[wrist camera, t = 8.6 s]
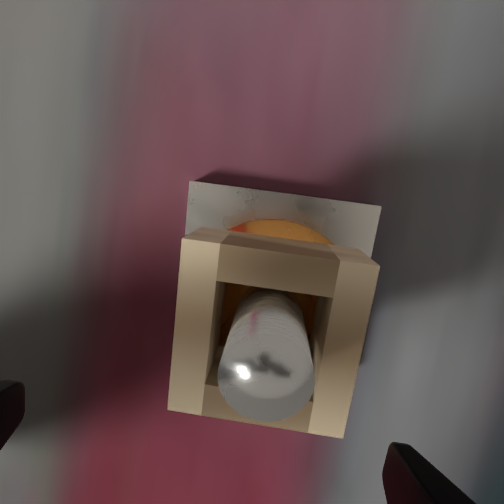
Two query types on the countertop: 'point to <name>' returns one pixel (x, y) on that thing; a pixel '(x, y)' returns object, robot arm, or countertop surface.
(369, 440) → the countertop surface
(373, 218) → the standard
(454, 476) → the countertop surface
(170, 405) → the collar
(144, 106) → the countertop surface
